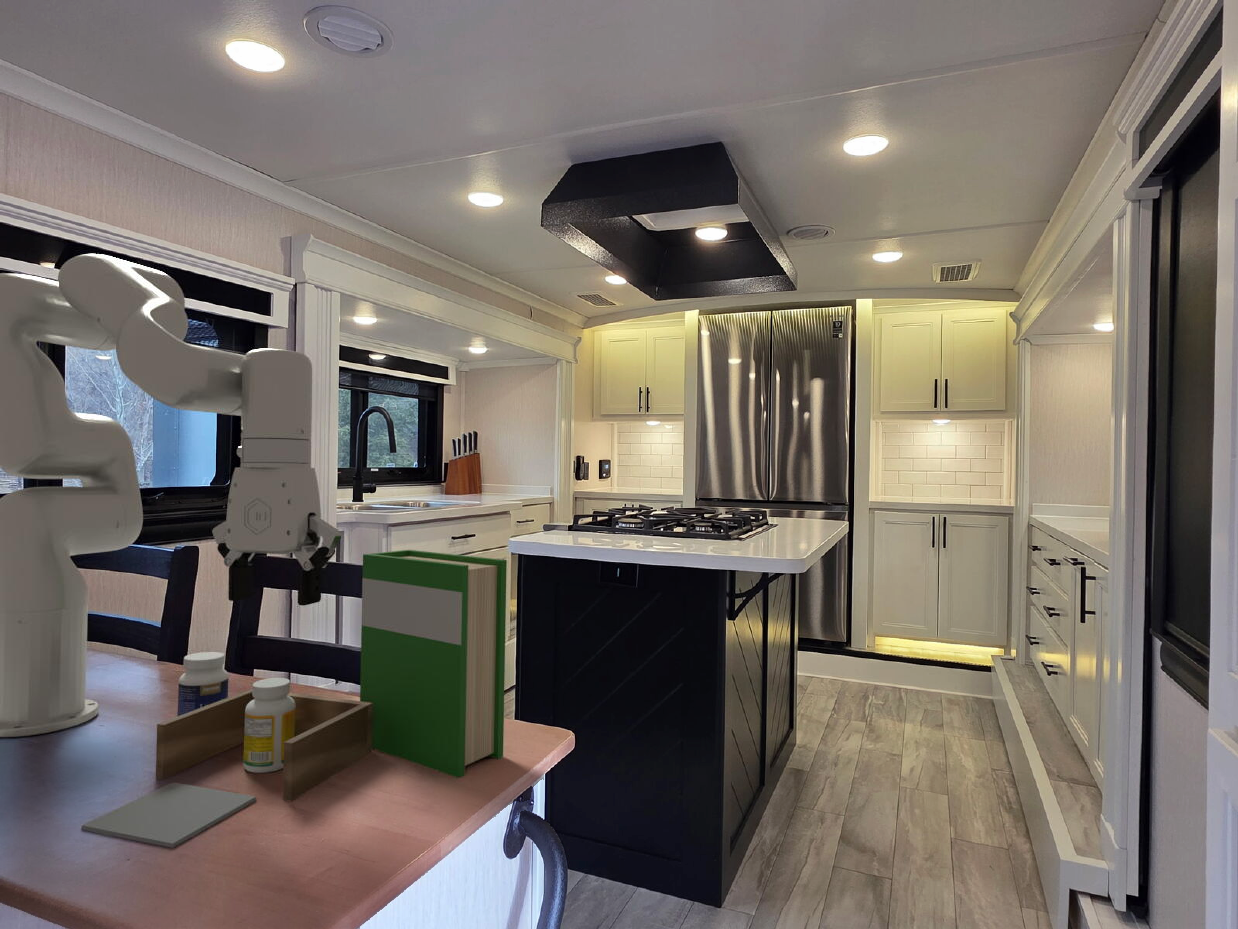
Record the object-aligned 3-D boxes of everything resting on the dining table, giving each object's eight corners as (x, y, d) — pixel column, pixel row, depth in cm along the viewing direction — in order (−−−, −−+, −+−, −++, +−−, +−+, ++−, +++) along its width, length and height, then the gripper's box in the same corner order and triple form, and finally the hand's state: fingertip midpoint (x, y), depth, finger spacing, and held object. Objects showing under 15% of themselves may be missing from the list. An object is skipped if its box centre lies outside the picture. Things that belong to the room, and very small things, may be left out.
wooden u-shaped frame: (155, 778, 80) (157, 724, 80) (251, 734, 94) (253, 688, 94) (290, 801, 75) (292, 743, 75) (371, 751, 89) (372, 702, 89)
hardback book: (503, 756, 88) (506, 560, 88) (458, 777, 82) (462, 566, 82) (405, 727, 97) (409, 549, 98) (359, 743, 91) (362, 554, 92)
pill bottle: (204, 741, 91) (206, 662, 91) (166, 737, 92) (167, 659, 92) (237, 725, 97) (238, 651, 97) (200, 722, 98) (202, 649, 98)
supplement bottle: (251, 778, 81) (253, 692, 81) (237, 763, 84) (239, 681, 85) (301, 765, 84) (302, 683, 84) (285, 752, 88) (287, 673, 88)
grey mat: (81, 829, 69) (81, 825, 69) (172, 786, 78) (172, 782, 78) (172, 848, 66) (172, 843, 66) (255, 800, 75) (256, 796, 75)
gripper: (191, 455, 84) (188, 602, 83) (317, 454, 79) (315, 611, 78) (241, 456, 91) (239, 592, 90) (359, 456, 86) (358, 600, 86)
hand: (274, 601), depth 84 cm, fingers open, 9 cm apart
